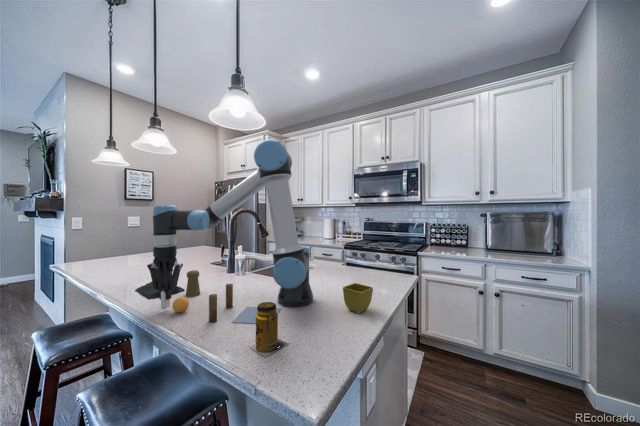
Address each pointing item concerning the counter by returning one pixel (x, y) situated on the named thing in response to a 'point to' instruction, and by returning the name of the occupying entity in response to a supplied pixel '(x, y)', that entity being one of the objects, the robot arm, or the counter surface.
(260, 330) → the condiment
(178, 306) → the ball
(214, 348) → the counter surface
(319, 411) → the counter surface
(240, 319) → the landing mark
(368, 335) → the counter surface
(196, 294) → the cork
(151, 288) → the dark slate chunk
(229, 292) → the post
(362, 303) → the flower pot
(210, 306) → the post
